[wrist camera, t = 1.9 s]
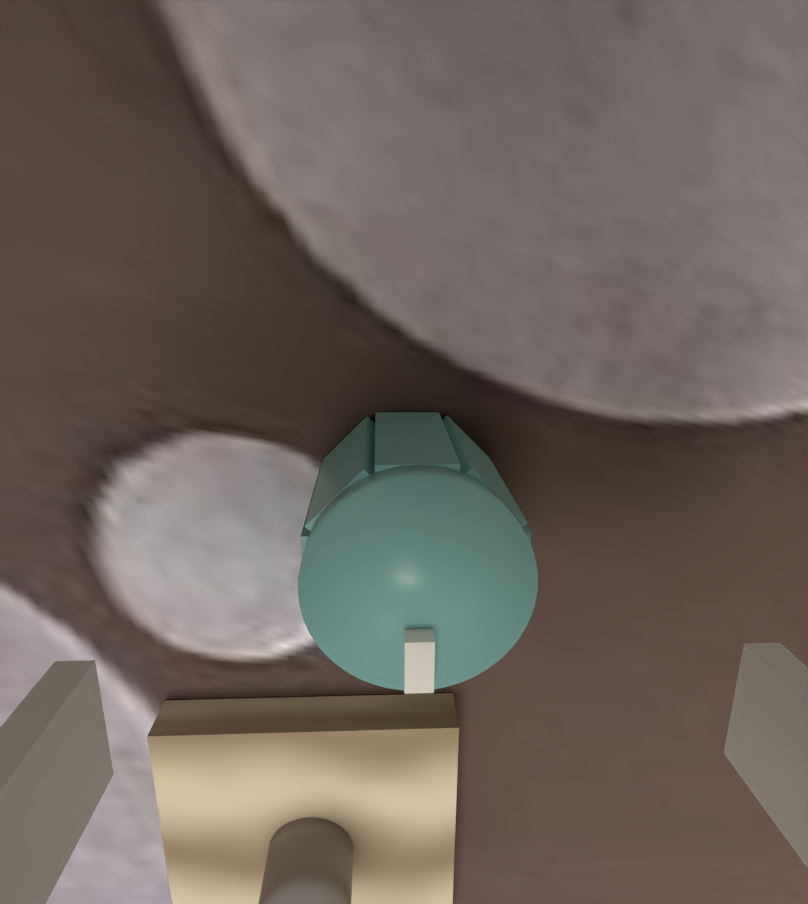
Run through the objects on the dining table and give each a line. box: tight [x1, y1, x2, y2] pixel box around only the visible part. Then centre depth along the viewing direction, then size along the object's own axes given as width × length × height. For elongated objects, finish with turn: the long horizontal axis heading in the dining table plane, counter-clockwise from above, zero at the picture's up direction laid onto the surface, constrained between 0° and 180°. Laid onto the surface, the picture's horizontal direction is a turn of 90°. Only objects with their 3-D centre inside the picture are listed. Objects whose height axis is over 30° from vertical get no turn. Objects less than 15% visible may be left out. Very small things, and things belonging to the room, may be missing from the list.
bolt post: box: [147, 693, 459, 904], centre depth 23 cm, size 12×12×8 cm
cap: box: [298, 412, 538, 694], centre depth 19 cm, size 6×6×8 cm
